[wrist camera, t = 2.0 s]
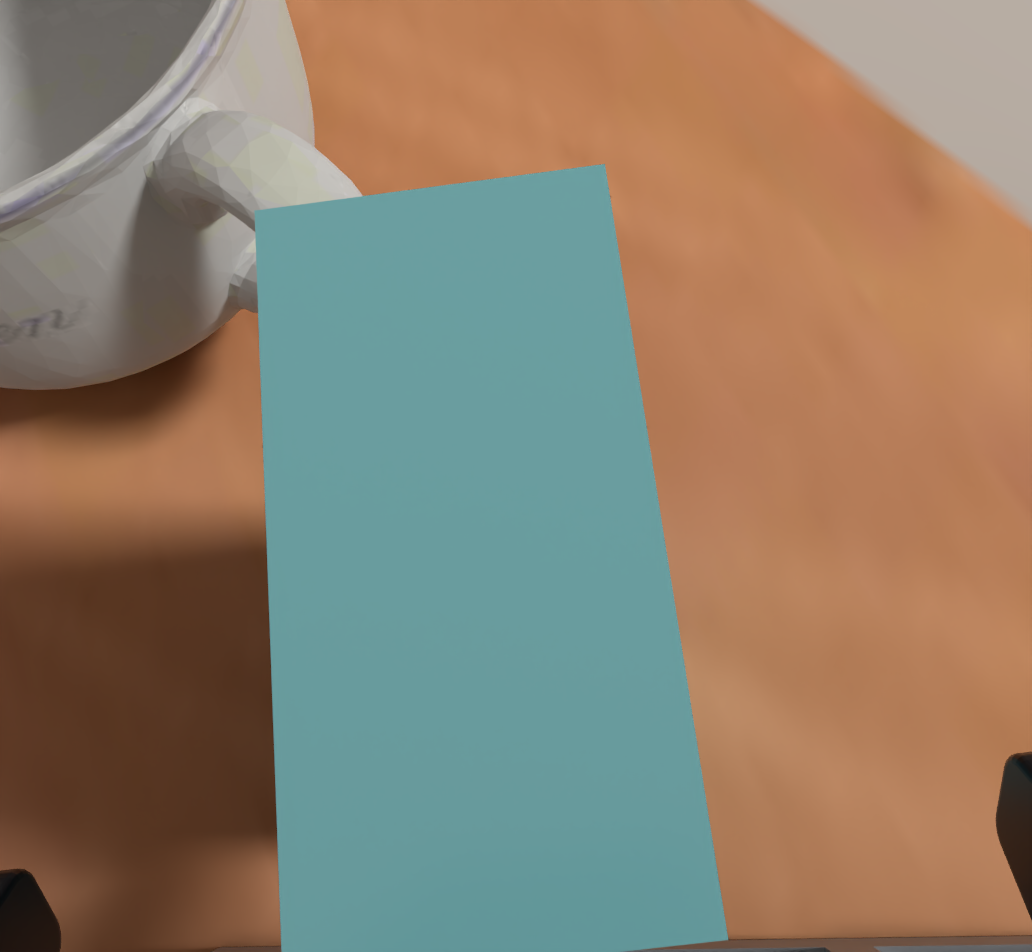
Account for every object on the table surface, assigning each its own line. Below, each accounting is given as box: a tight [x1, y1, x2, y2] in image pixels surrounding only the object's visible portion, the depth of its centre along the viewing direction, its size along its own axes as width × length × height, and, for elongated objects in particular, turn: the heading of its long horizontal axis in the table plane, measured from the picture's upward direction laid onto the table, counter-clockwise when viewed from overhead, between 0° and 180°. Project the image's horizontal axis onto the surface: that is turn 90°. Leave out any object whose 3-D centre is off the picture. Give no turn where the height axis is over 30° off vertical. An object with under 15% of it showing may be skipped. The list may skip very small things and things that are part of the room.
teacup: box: [0, 0, 363, 390], centre depth 18 cm, size 14×11×8 cm
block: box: [254, 164, 728, 952], centre depth 13 cm, size 6×3×12 cm, turn 6°
